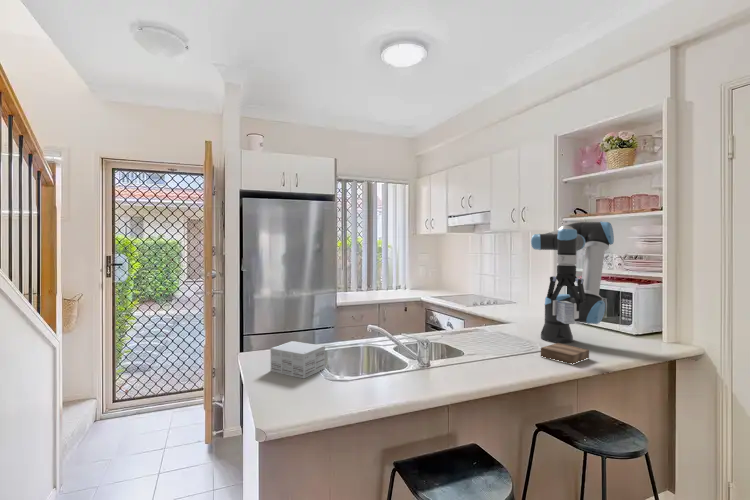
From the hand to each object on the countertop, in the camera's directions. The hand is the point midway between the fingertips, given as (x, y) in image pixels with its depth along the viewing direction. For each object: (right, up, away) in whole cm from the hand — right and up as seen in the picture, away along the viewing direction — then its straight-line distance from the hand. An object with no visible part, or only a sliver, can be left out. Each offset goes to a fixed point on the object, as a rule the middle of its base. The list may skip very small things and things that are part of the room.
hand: (565, 316), depth 171 cm
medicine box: (0, -3, 0) cm, 3 cm away
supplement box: (-113, -18, -17) cm, 116 cm away
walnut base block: (0, -18, +1) cm, 18 cm away
